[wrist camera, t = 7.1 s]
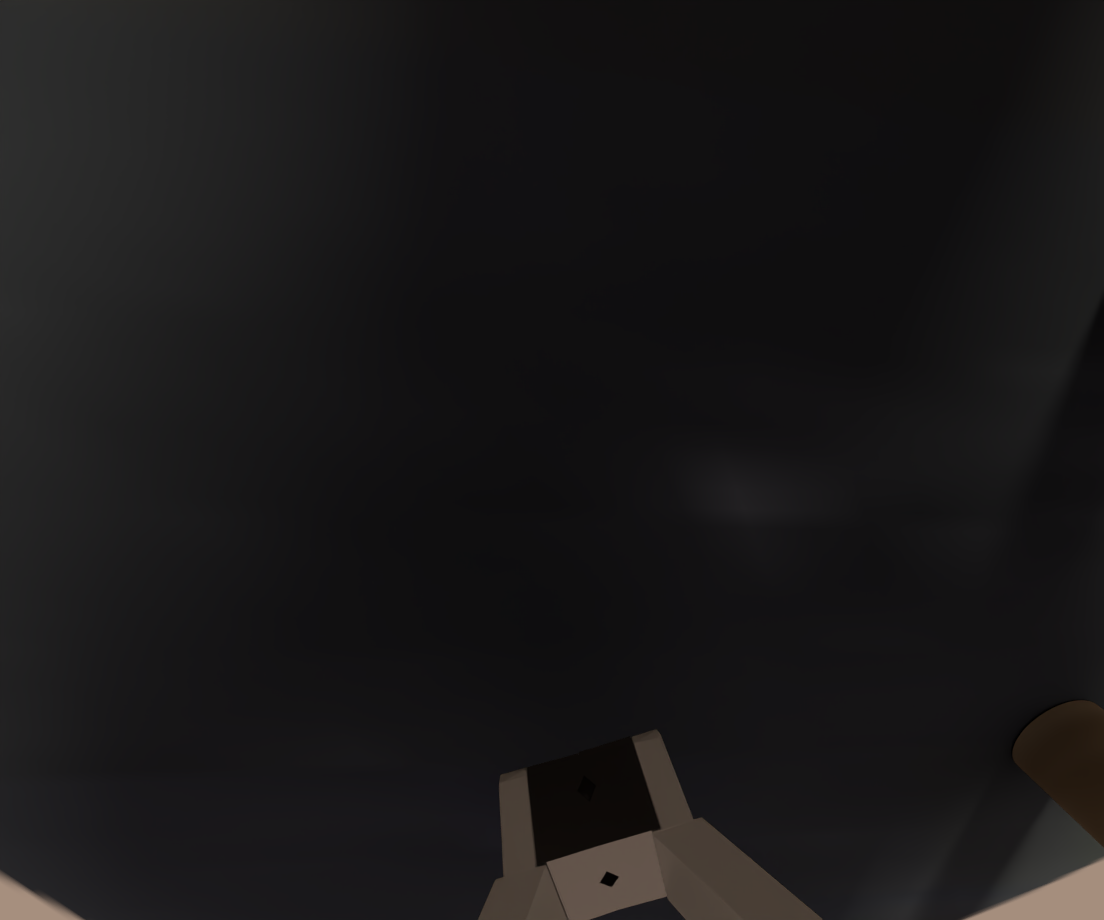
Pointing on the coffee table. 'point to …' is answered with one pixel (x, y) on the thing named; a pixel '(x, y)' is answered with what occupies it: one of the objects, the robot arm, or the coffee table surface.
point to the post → (1068, 760)
